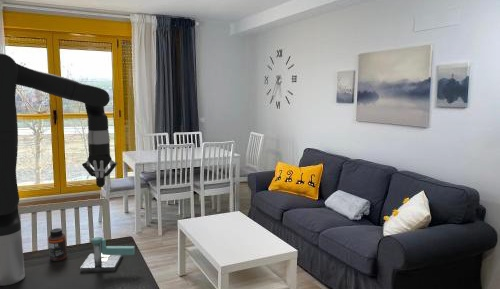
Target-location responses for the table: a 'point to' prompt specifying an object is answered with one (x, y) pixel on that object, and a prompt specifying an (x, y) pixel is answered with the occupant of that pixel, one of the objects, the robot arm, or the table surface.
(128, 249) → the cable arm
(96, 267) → the plate
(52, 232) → the supplement bottle
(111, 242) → the table surface
